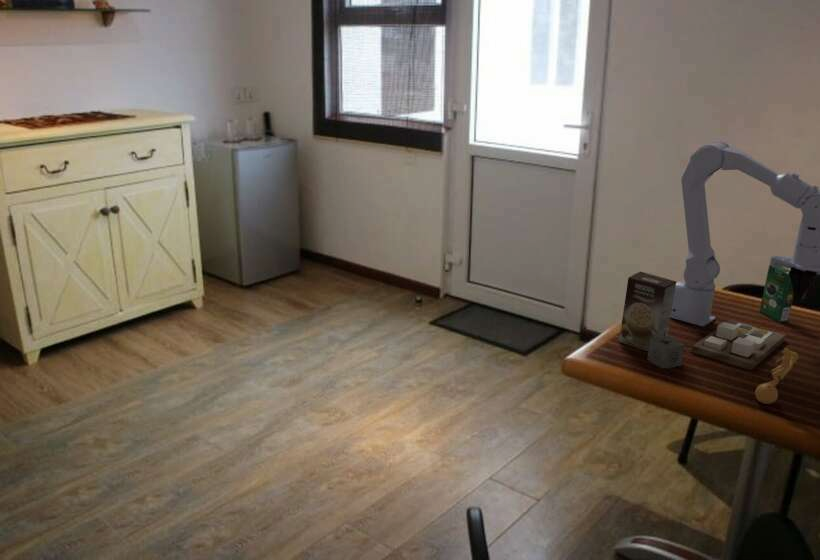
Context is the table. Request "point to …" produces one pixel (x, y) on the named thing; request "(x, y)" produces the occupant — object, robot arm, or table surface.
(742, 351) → the button
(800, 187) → the robot arm
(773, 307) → the coffee box
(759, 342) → the button
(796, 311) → the table surface
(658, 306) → the coffee box
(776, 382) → the figurine
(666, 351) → the grey cube with symbol
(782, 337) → the board
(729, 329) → the button
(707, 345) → the button
